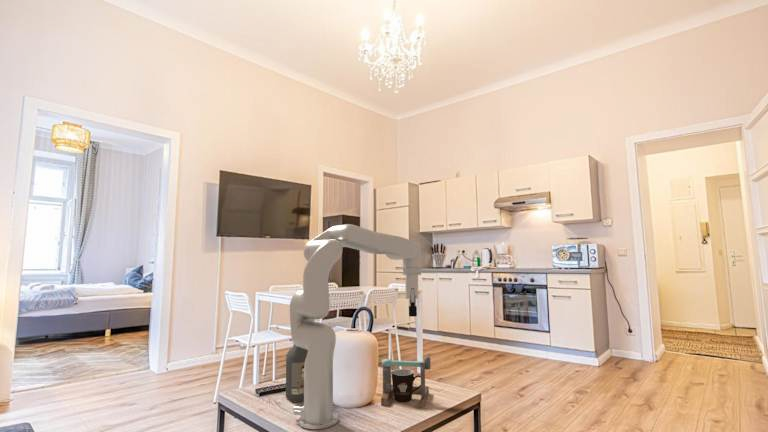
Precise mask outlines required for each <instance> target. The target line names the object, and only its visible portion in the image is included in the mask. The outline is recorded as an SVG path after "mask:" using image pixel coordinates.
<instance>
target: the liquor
mask: <svg viewBox="0 0 768 432" xmlns="http://www.w3.org/2000/svg"><path fill="white" fill-rule="evenodd" d="M307 353H308V350H306V349H302V348H300V347H298V346H296V345H295V344H294V343H293V346H291V348H290V349H289V350H288V351H287V353H286V356H285V360H286V361H285V366H286V367H285V397H286V399H287V398H288V399H289V401H290V402H291V401H292V402H291V403H302V402H304V364H305V359H306V356H307ZM288 399H287V400H288Z"/></svg>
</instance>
